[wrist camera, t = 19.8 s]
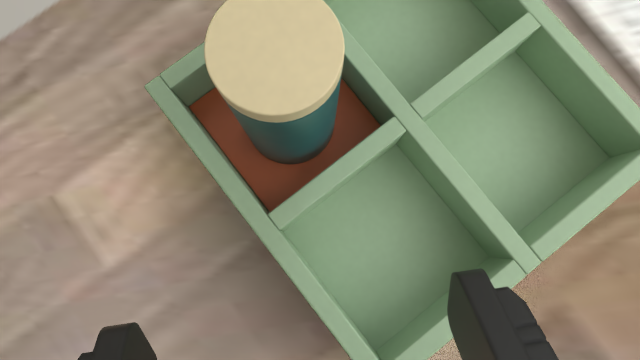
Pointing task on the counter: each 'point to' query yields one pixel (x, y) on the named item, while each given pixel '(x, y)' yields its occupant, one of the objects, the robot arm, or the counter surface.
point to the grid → (424, 162)
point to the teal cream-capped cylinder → (278, 72)
